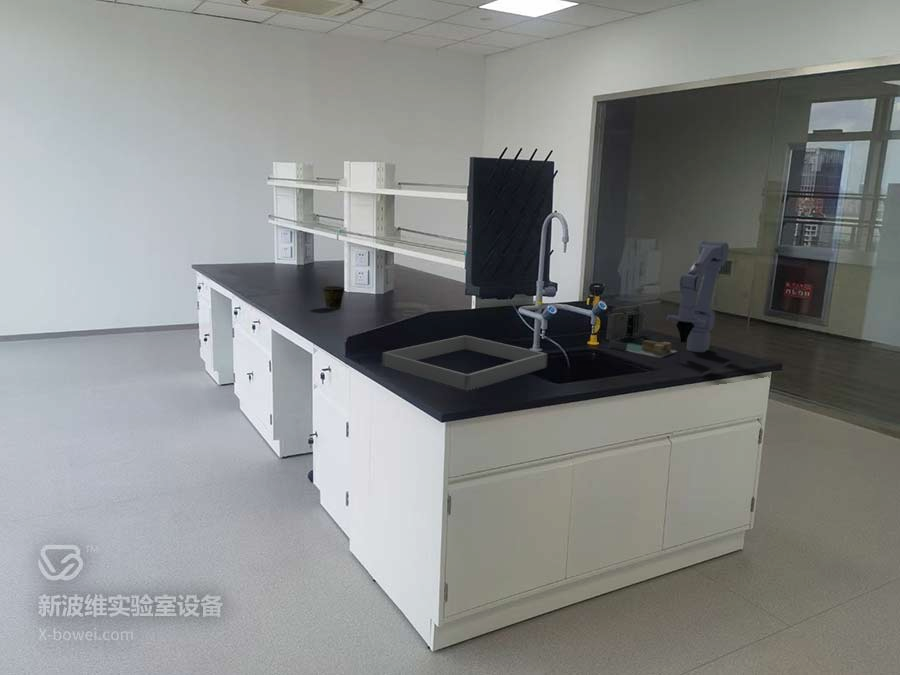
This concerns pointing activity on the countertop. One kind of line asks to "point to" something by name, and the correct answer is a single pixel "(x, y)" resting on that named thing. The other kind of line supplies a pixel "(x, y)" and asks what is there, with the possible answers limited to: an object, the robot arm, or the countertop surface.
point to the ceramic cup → (333, 296)
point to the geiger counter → (625, 322)
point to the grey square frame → (407, 363)
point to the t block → (656, 347)
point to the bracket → (621, 342)
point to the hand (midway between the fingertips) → (683, 342)
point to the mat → (638, 349)
